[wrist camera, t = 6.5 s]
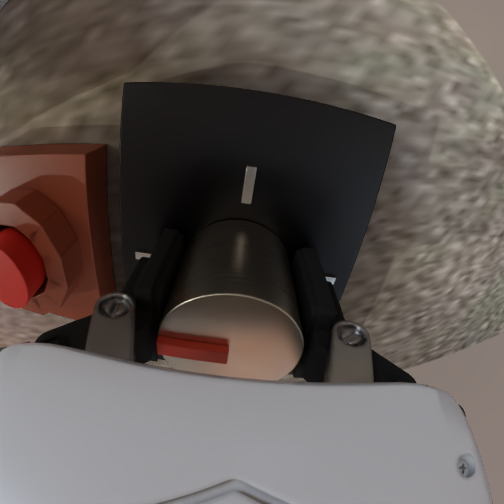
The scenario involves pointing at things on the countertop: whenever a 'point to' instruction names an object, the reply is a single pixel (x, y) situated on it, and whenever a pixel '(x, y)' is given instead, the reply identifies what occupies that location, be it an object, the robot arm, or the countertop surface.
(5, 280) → the button
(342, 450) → the robot arm
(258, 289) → the hob knob
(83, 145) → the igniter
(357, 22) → the countertop surface
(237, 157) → the panel
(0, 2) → the tea box
